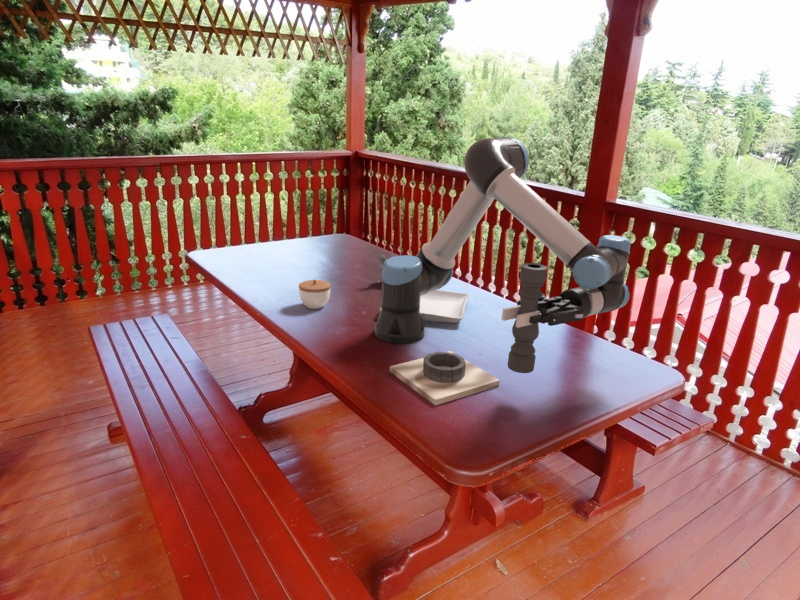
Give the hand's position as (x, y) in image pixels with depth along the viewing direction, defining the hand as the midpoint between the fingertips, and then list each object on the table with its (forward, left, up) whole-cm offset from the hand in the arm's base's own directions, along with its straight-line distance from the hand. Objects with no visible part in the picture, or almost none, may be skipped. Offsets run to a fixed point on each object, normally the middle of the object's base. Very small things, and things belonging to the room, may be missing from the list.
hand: (510, 318), depth 122 cm
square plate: (-60, +21, -22) cm, 68 cm away
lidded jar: (-81, -11, -22) cm, 85 cm away
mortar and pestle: (-91, +26, -22) cm, 98 cm away
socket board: (-16, -5, -21) cm, 27 cm away
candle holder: (0, +5, -14) cm, 15 cm away
